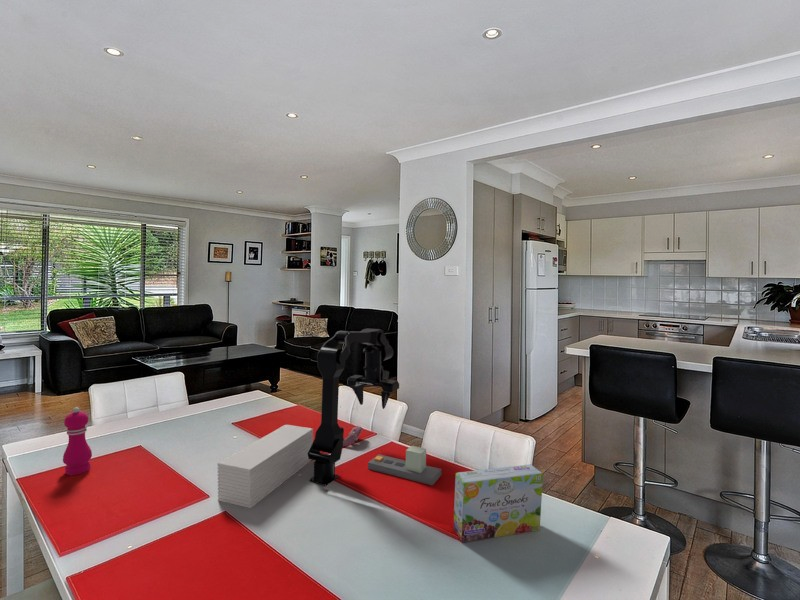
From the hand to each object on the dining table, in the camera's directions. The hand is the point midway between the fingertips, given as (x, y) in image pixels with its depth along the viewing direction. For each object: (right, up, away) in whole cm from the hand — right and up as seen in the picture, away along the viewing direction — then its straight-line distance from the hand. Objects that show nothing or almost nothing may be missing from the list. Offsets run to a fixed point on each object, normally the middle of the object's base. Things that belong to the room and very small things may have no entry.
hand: (372, 406), depth 154 cm
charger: (+15, -15, -23) cm, 31 cm away
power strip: (+11, -16, -21) cm, 29 cm away
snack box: (+34, -19, -49) cm, 62 cm away
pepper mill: (-90, -15, -21) cm, 94 cm away
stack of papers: (-30, -16, -24) cm, 41 cm away
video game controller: (-8, -15, +4) cm, 17 cm away
